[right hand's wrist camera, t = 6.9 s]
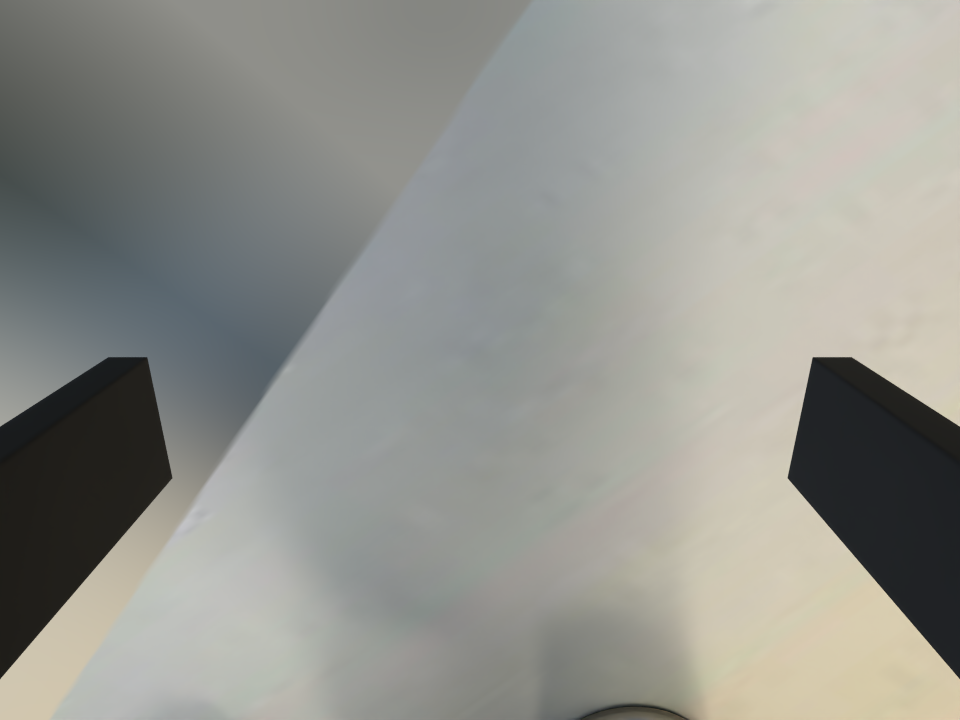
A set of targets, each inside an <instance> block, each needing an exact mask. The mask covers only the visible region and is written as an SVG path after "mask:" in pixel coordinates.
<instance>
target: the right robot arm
mask: <svg viewBox="0 0 960 720" xmlns="http://www.w3.org/2000/svg"><path fill="white" fill-rule="evenodd" d="M171 479H172V474H171V469H170V464H169V460H168V455H167V450H166V445H165V440H164V436H163V431H162V426H161V421H160V417H159V412H158V407H157V402H156V397H155V392H154V388H153V383H152V378H151V373H150V369H149V364H148V359H147V357H108V358H107V359H105V360H104V361H102V362H100V363H99V364H97V365H96V366H94V367H93V368H91V369H90V370H88V371H86V372H85V373H83V374H82V375H80V376H79V377H77V378H75V379H74V380H72V381H71V382H69V383H68V384H66V385H65V386H63V387H61V388H60V389H58V390H57V391H55V392H54V393H52V394H50V395H49V396H47V397H46V398H44V399H43V400H41V401H40V402H38V403H36V404H35V405H33V406H32V407H30V408H29V409H27V410H26V411H24V412H22V413H21V414H19V415H18V416H16V417H15V418H13V419H12V420H10V421H8V422H7V423H5V424H4V425H2V426H1V427H0V679H1V677H2V676H3V675H4V674H5V673H6V672H7V670H8V669H9V668H10V667H11V666H12V665H13V663H14V662H15V661H16V660H17V659H18V658H19V656H20V655H21V654H22V653H23V652H24V651H25V649H26V648H27V647H28V646H29V645H30V643H31V642H32V641H33V640H34V639H35V638H36V636H37V635H38V634H39V633H40V632H41V631H42V630H43V628H44V627H45V626H46V625H47V624H48V623H49V621H50V620H51V619H52V618H53V617H54V615H55V614H56V613H57V612H58V611H59V610H60V609H61V607H62V606H63V605H64V604H65V603H66V602H67V600H68V599H69V598H70V597H71V596H72V595H73V593H74V592H75V591H76V590H77V589H78V588H79V586H80V585H81V584H82V583H83V582H84V580H85V579H86V578H87V577H88V576H89V575H90V574H91V572H92V571H93V570H94V569H95V568H96V567H97V565H98V564H99V563H100V562H101V561H102V559H103V558H104V557H105V556H106V555H107V554H108V552H109V551H110V550H111V549H112V548H113V547H114V546H115V544H116V543H117V542H118V541H119V540H120V539H121V537H122V536H123V535H124V534H125V533H126V532H127V530H128V529H129V528H130V527H131V526H132V525H133V523H134V522H135V521H136V520H137V519H138V517H139V516H140V515H141V514H142V513H143V512H144V511H145V509H146V508H147V507H148V506H149V505H150V504H151V502H152V501H153V500H154V499H155V498H156V496H157V495H158V494H159V493H160V492H161V491H162V489H163V488H164V487H165V486H166V485H167V484H168V482H169V481H170V480H171ZM788 479H789V480H790V481H791V483H792V484H793V485H794V486H795V487H796V488H797V490H798V491H799V492H800V493H801V494H802V495H803V497H804V498H805V499H806V500H807V501H808V502H809V504H810V505H811V506H812V507H813V508H814V509H815V511H816V512H817V513H818V514H819V515H820V516H821V518H822V519H823V520H824V521H825V522H826V523H827V525H828V526H829V527H830V528H831V529H832V530H833V532H834V533H835V534H836V535H837V536H838V537H839V539H840V540H841V541H842V542H843V543H844V544H845V546H846V547H847V548H848V549H849V550H850V551H851V553H852V554H853V555H854V556H855V557H856V558H857V560H858V561H859V562H860V563H861V564H862V565H863V567H864V568H865V569H866V570H867V571H868V572H869V574H870V575H871V576H872V577H873V578H874V579H875V581H876V582H877V583H878V584H879V585H880V586H881V588H882V589H883V590H884V591H885V592H886V593H887V595H888V596H889V597H890V598H891V599H892V600H893V602H894V603H895V604H896V605H897V606H898V607H899V609H900V610H901V611H902V612H903V613H904V614H905V616H906V617H907V618H908V619H909V620H910V621H911V623H912V624H913V625H914V626H915V627H916V628H917V630H918V631H919V632H920V633H921V634H922V635H923V637H924V638H925V639H926V640H927V641H928V642H929V644H930V645H931V646H932V647H933V648H934V649H935V651H936V652H937V653H938V654H939V655H940V656H941V658H942V659H943V660H944V661H945V662H946V663H947V665H948V666H949V667H950V668H951V669H952V670H953V672H954V673H955V674H956V675H957V676H958V677H959V679H960V427H959V426H958V425H956V424H955V423H953V422H952V421H950V420H948V419H947V418H945V417H944V416H942V415H941V414H939V413H938V412H936V411H934V410H933V409H931V408H930V407H928V406H927V405H925V404H924V403H922V402H920V401H919V400H917V399H916V398H914V397H913V396H911V395H910V394H908V393H906V392H905V391H903V390H902V389H900V388H899V387H897V386H895V385H894V384H892V383H891V382H889V381H888V380H886V379H885V378H883V377H881V376H880V375H878V374H877V373H875V372H874V371H872V370H871V369H869V368H867V367H866V366H864V365H863V364H861V363H860V362H858V361H857V360H855V359H853V358H852V357H813V359H812V364H811V368H810V373H809V378H808V383H807V388H806V392H805V397H804V402H803V407H802V412H801V416H800V421H799V426H798V431H797V436H796V440H795V445H794V450H793V455H792V460H791V464H790V469H789V474H788ZM581 720H685V719H684V718H682V717H680V716H678V715H676V714H673V713H670V712H667V711H664V710H660V709H654V708H647V707H622V708H614V709H609V710H605V711H601V712H598V713H595V714H592V715H589V716H587V717H585V718H583V719H581Z"/></svg>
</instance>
